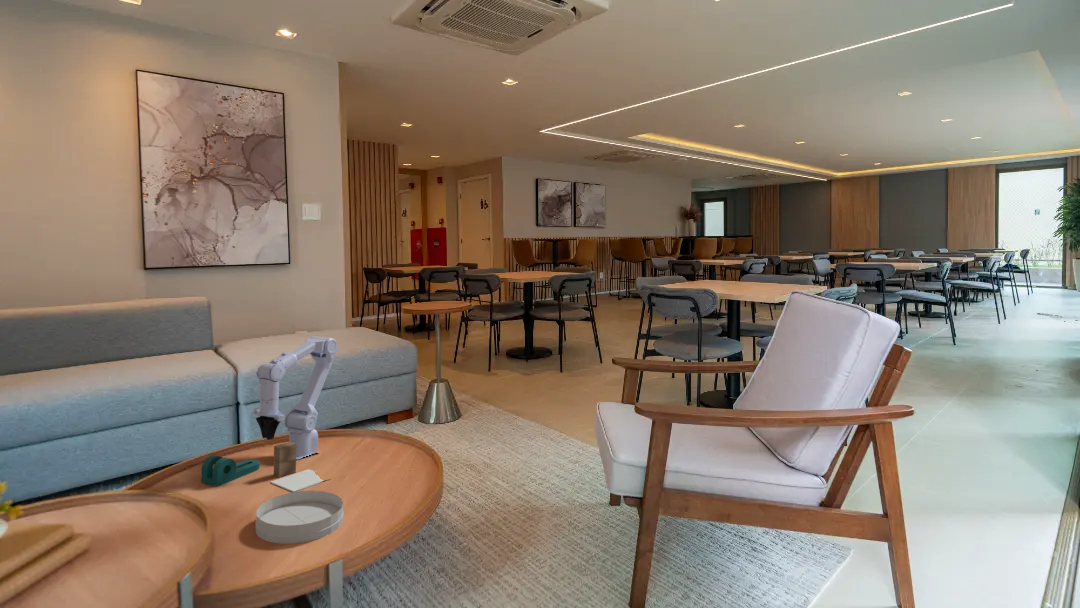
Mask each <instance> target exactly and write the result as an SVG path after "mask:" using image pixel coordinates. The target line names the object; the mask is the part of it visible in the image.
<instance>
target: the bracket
mask: <svg viewBox="0 0 1080 608" xmlns="http://www.w3.org/2000/svg"><path fill="white" fill-rule="evenodd" d="M259 469H260V461H259V460H257V459H246V460H242V461H239V462H236V461H235V459H233V458H229V457H223V456H220V455H216V454H215V455H209V456H208V457H207V458H205V460H204V461H203V463H202V464H201V470H200V471H201V477H200V478H201V480H200V481H201V484H205V485H210V486H213V487H220V486H223V485H224V484H228V483H230V482H232V481H235V480H237V479H240V478H242V477H244V476H248V475H249V474H251V473H255V472H256V471H259Z"/></svg>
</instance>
